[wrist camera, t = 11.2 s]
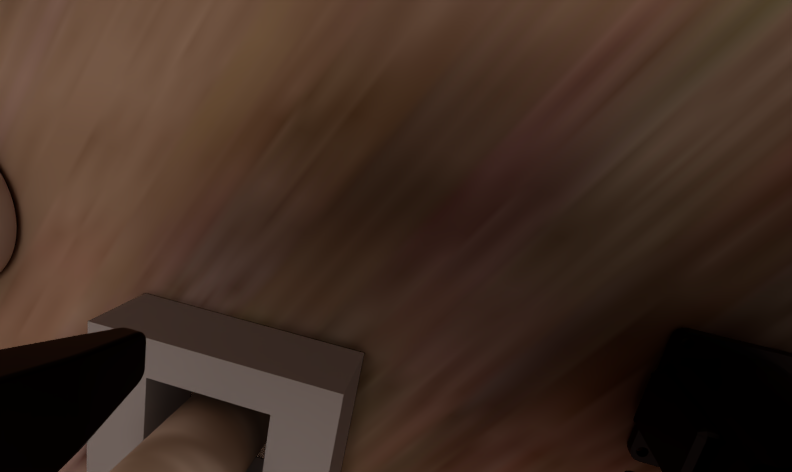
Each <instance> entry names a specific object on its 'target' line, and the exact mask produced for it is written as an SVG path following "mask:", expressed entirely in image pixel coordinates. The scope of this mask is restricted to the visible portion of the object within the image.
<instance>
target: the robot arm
mask: <svg viewBox="0 0 792 472" xmlns="http://www.w3.org/2000/svg"><path fill="white" fill-rule="evenodd" d="M685 338H690V341H689V342H688V343H687V344H681V342H682V340H683V339H685ZM145 357H146V337H145V335H144V334H143V333H142V332H140V331H136V330H133V329H130V328H125V327H121V328H115V329H110V330H105V331H99V332H94V333H88V334H83V335H77V336H72V337H66V338H61V339H56V340H50V341H45V342H39V343H34V344H28V345H23V346H18V347H12V348H7V349H1V350H0V472H58V471H59V470H60V469H61V468H62V467H63V466H64V465H65V464H66V463H67V462H68V461H69V460H70V459H71V458H72V457H73V456H74V455H75V454H76V453H77V452H78V451H79V450H80V449H81V448H82V447H83V446H84V445H85V444H86V443H87V442H88V440H89V439H90V438H91V437H92V436H93V435H94V434H95V433H96V431H97V430H98V429H99V428H100V427H101V426H102V425H103V423H104V422H105V421H106V420H107V419H108V418H109V417H110V415H111V414H112V413H113V412H114V411H115V410H116V409H117V407H118V406H119V405H120V404H121V403H122V402H123V401H124V399H125V398H126V397H127V396H128V395H129V394H130V393H131V391H132V390H133V389H134V388H135V387H136V386H137V385H138V383H139V382H140V380H141V379H142V377H143V375H144V371H145ZM634 422H635V426H634V428H633V431H632V433H631V436H630V438H629V441H628V444H627V447H628V450H629V452H630V454H631V456H632V457H633V458H634V459H635V460H637V461H640V462H643V463H647V464H650V465H654V466H658V467H660V468H661V470H662V472H792V354H791V353H787V352H783V351H778V350H774V349H770V348H766V347H762V346H758V345H754V344H750V343H746V342H741V341H737V340H733V339H729V338H725V337H721V336H717V335H713V334H709V333H704V332H700V331H696V330H692V329H688V328H681V329H678V330H676V331H675V332H673V334H672V335H671V337H670V340H669V342H668V345H667V347H666V350H665V352H664V354H663V357H662V359H661V362H660V364H659V367H658V369H657V370H656V371H655V372H653V373H652V374H651V377H650V379H649V382H648V384H647V387H646V389H645V392H644V394H643V397H642V399H641V402H640V404H639V407H638V409H637V412H636V414H635V417H634ZM640 447H645V448H644V449H643V450H641V451H637V449H638V448H640ZM625 472H633V471H625Z"/></svg>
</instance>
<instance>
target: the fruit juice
mask: <svg viewBox="0 0 792 472" xmlns="http://www.w3.org/2000/svg"><path fill="white" fill-rule="evenodd" d="M16 233H17V224H16V214H15V208H14V204H13V200H12V197H11V194H10V191H9V189H8V186H7V184H6V182H5V180H4V178H3V176H2V175H1V173H0V272H1V271H2V270H3V269H4V268H5V266H6V265H7V263H8V262H9V260H10V258H11V256H12V253H13V250H14V247H15V242H16Z"/></svg>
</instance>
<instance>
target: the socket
mask: <svg viewBox="0 0 792 472" xmlns="http://www.w3.org/2000/svg"><path fill="white" fill-rule="evenodd" d="M121 327H125V328H130V329H133V330H136V331H140V332H142V333H143V334H144V335H145V337H146V357H145V371H144V375H143V377H142V379H141V380H140V382H139V383H138V385H137V386H136V387H135V388H134V389H133V390H132V391H131V393H130V394H129V395H128V396H127V397H126V398H125V399H124V401H123V402H122V403H121V404H120V405H119V406H118V407H117V409H116V410H115V411H114V412H113V413H112V414H111V415H110V417H109V418H108V419H107V420H106V421H105V422H104V423H103V425H102V426H101V427H100V428H99V429H98V430H97V431H96V433H95V434H94V435H93V436H92V437H91V438H90V439H89V440H88V442H87V472H110V471H111V470H112V469H113V468H114V467H115V466H116V465H117V464H118V463H119V462H120V461H121V460H123V459H124V458H125V457H126V456H127V455H128V454H129V453H130V452H131V451H132V450H133V449H135V448H136V447H137V446H138V445H139V444H140V443H141V442H142V441H143V440H144V439H145V438H147V437H148V436H149V435H150V434H151V433H152V432H153V431H154V430H155V429H156V428H157V427H159V426H160V425H161V424H162V423H163V422H164V421H165V420H166V419H167V418H168V417H169V416H170V415H172V414H173V413H174V412H175V411H176V410H177V409H178V408H179V407H180V406H181V405H182V404H184V403H185V402H186V401H187V400H188V399H189V398H190V393H191V391H192V392H196V393H199V394H202V395H206V396H209V397H212V398H216V399H219V400H222V401H226V402H229V403H232V404H236V405H239V406H242V407H246V408H249V409H252V410H256V411H259V412H262V413H266V414H269V415H270V422H269V429H268V436H267V443H266V450H265V458H264V459H261V458H258V457H256V458H255V459H254V460H253V462H252V463H251V465H250V466H249V468H248V469H247V471H246V472H341V468H342V463H343V458H344V453H345V448H346V443H347V438H348V432H349V427H350V422H351V417H352V412H353V407H354V402H355V397H356V392H357V387H358V382H359V377H360V372H361V367H362V362H363V357H364V353H362V352H358V351H355V350H351V349H347V348H344V347H340V346H336V345H333V344H329V343H325V342H322V341H318V340H314V339H311V338H307V337H304V336H300V335H296V334H293V333H289V332H285V331H282V330H278V329H274V328H271V327H267V326H263V325H260V324H256V323H252V322H249V321H245V320H241V319H238V318H234V317H230V316H227V315H223V314H219V313H216V312H212V311H208V310H205V309H201V308H197V307H194V306H190V305H186V304H183V303H179V302H175V301H172V300H168V299H164V298H161V297H157V296H153V295H150V294H146V293H145V294H143V295H141V296H139V297H137V298H135V299H132V300H130V301H128V302H126V303H124V304H122V305H120V306H118V307H116V308H114V309H112V310H110V311H108V312H106V313H104V314H102V315H100V316H97V317H95V318H93V319H91V320H89V321H88V333H94V332H99V331H105V330H110V329H115V328H121Z"/></svg>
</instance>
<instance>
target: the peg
mask: <svg viewBox="0 0 792 472" xmlns="http://www.w3.org/2000/svg"><path fill="white" fill-rule="evenodd" d="M269 422H270V415H269V414H266V413H262V412H259V411H256V410H252V409H249V408H246V407H242V406H239V405H236V404H232V403H229V402H226V401H222V400H219V399H216V398H212V397H209V396H206V395H202V394H199V393H194V394H193V395H192V396H191V397H190V398H189V399H188V400H187V401H186V402H185V403H184V404H182V405H181V406H180V407H179V408H178V409H177V410H176V411H175V412H174V413H173V414H172V415H170V416H169V417H168V418H167V419H166V420H165V421H164V422H163V423H162V424H161V425H160V426H159V427H157V428H156V429H155V430H154V431H153V432H152V433H151V434H150V435H149V436H148V437H147V438H145V439H144V440H143V441H142V442H141V443H140V444H139V445H138V446H137V447H136V448H135V449H133V450H132V451H131V452H130V453H129V454H128V455H127V456H126V457H125V458H124V459H123V460H121V461H120V462H119V463H118V464H117V465H116V466H115V467H114V468H113V469H112V470H111V471H110V472H246V471H247V469H248V468H249V466H250V465H251V463H252V462H253V460H254V459H255V458H256V456H257V455H258V453H259V452H260V450H261V449H262V447H263V446H264V444H265V443H266V441H267V436H268V429H269Z"/></svg>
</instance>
